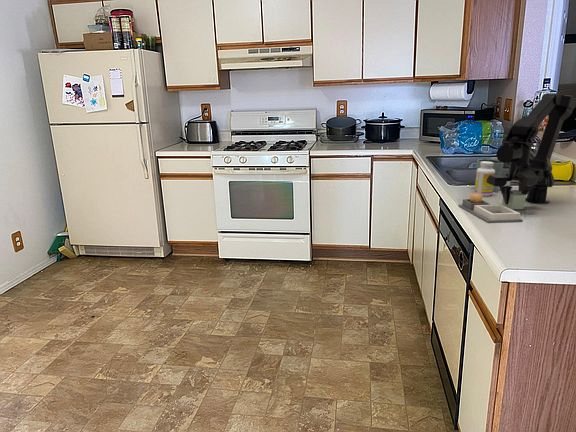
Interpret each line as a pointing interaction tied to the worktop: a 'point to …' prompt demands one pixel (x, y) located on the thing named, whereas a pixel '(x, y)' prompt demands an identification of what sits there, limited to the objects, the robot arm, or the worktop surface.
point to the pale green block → (515, 200)
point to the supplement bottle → (484, 179)
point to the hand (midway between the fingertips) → (513, 204)
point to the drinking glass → (496, 166)
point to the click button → (475, 198)
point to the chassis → (491, 212)
